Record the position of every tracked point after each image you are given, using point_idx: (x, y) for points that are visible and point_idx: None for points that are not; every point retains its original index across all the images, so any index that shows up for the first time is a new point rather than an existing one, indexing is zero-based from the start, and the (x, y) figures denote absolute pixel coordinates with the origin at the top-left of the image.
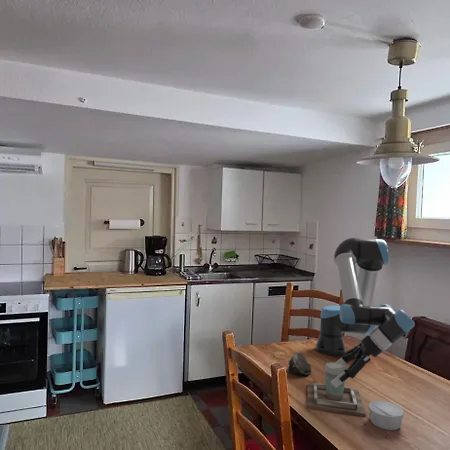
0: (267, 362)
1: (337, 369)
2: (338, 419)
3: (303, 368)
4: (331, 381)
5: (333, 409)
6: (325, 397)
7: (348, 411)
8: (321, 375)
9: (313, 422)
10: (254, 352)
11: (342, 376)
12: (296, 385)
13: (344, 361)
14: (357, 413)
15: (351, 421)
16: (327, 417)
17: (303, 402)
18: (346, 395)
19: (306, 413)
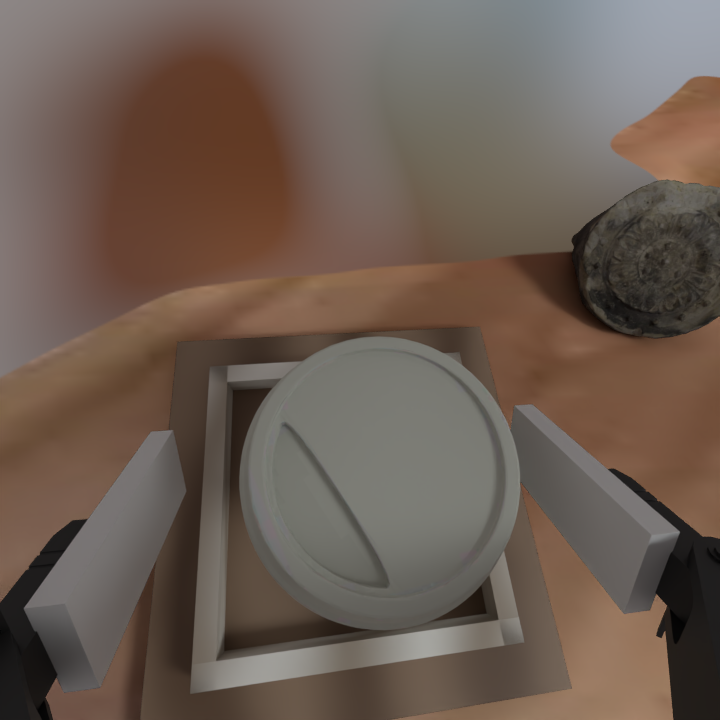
0: (638, 155)
1: (248, 482)
2: None
3: (623, 281)
4: (157, 435)
5: None
6: None
7: (153, 604)
8: (671, 402)
9: (17, 386)
10: (708, 106)
11: (46, 564)
12: (447, 283)
13: (639, 585)
14: (145, 681)
15: None
16: (88, 460)
17: (251, 326)
18: None
19: (121, 347)
